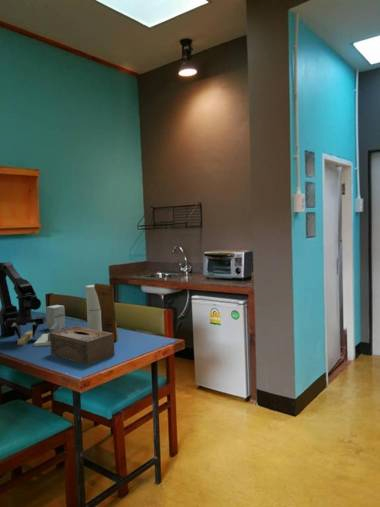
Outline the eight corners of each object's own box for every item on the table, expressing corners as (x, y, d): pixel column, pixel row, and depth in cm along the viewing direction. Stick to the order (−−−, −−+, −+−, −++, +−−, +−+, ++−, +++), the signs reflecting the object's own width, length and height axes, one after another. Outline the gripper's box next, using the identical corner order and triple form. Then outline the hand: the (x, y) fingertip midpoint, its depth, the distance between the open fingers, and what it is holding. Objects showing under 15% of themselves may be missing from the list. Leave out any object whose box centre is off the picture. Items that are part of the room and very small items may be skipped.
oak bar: (24, 345, 194) (23, 339, 194) (17, 346, 194) (17, 340, 193) (34, 335, 212) (34, 330, 211) (29, 335, 211) (28, 330, 211)
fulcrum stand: (34, 346, 191) (33, 330, 191) (43, 336, 207) (42, 322, 207) (68, 344, 193) (67, 329, 193) (74, 335, 209) (73, 321, 208)
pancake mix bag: (109, 344, 191) (106, 286, 189) (95, 335, 207) (92, 282, 205) (122, 341, 195) (119, 285, 193) (107, 333, 211) (105, 280, 209)
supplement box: (54, 330, 219) (53, 308, 218) (46, 328, 224) (45, 306, 223) (65, 327, 225) (64, 305, 224) (58, 325, 230) (56, 304, 229)
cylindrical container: (98, 334, 210) (95, 287, 208) (85, 333, 211) (83, 287, 209) (103, 330, 217) (101, 285, 215) (91, 330, 218) (89, 284, 216)
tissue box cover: (51, 354, 179) (49, 332, 178) (77, 346, 190) (76, 325, 190) (88, 365, 164) (87, 341, 163) (114, 355, 175) (113, 333, 174)
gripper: (-1, 312, 192) (1, 343, 194) (39, 310, 194) (41, 341, 196) (7, 307, 203) (9, 337, 205) (45, 305, 205) (47, 335, 207)
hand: (26, 337), depth 203 cm, fingers open, 6 cm apart
